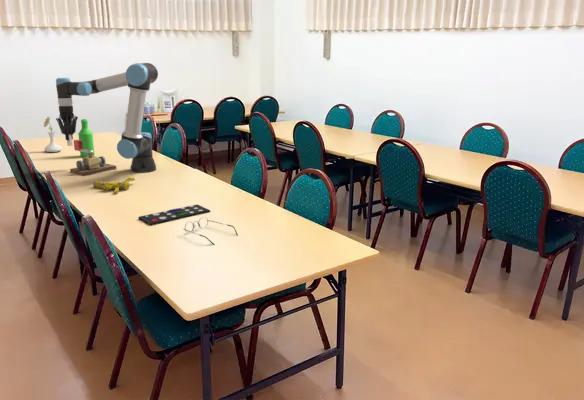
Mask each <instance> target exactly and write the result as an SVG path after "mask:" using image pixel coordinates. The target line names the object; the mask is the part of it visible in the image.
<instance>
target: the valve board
mask: <svg viewBox="0 0 584 400" xmlns="http://www.w3.org/2000/svg"><path fill="white" fill-rule="evenodd" d="M75 165H76V167H73V168H70V169H69V171H70V172H69V173H72V174H76V175H80V176H85V177H86V176H90V175H95V174H101V173H105V172H109V171H114V170H117V165H115V164H109V163H106V158H105V156H103V155H102V156H95V155H94V156H92V154H89V157H82V160H77V161H76V163H75Z"/></svg>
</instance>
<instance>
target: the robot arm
mask: <svg viewBox="0 0 584 400" xmlns="http://www.w3.org/2000/svg"><path fill="white" fill-rule="evenodd" d="M158 77H159V71H158V69H157V67H156V66H155V65H154V64H152V63H150V62H141V63H140V62H136V63H132V64H131V65H129V66H128V67H127V69H126V71H125V72H121V73H117V74H113V75H109V76H105V77H101V78H97V79H93V80H86V81H71V80H70V78H69V77H57V78H56V79H55V84H56V85H55V87H56V94H57V103H58V112H59V116H58V117H56V118H55V120H56V121H57V124H58V127H59V129H60V133H61V134H62V135H64V136H65V140H66V144H67V146H69V147H72V146H73V147H74V144H73V141H74V136H73V135H74V134H75V133H76V130H77V120H78V119H79V117H78V116H76V115H75V114H74V106H73V97H72V96H80V97H81V96H82V97H88V96H90V95H93V94H99V93H101V92H105V91H110V90H115V89H119V88H124V87H128V89H129V97H128V106H127V113H126V121H125V130H124V131H122V132H121V138H120V140H119V141H118V143H117V145H116V150H117V153H118V154H119V155H120V156H121V157H122V158H124V159H129V160H130V159H131V164H130V171H131V172H133V173H150V172H153V171H156V170H157V165H156V162H155V160H154V156H153V138H152V134H151V132H143V131H142V125H143V119H144V118H143V117H144V113H145V112H144V111H145V104H146V103H145V102H146V97H147V96H146V95H147V93H148V92H149V91H150V88H151V84H153V83H155V82H156V81H157V80H158Z"/></svg>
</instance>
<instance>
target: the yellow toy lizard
mask: <svg viewBox="0 0 584 400" xmlns="http://www.w3.org/2000/svg"><path fill="white" fill-rule="evenodd" d="M132 181H136V178H135V177H128V178H126V179H124V180H122V181H116V182H111V181H102V177H100V180H96V181H94V182H92V186H93V188H97V189H98V188H99V190H101V189H102V190H106V191H108V190H110V189H111V190H114V194H118V193H119V190H121V189H124V190H125V191H127V190H129V189H130V183H131V182H132ZM107 189H108V190H107ZM111 190H110V191H111Z"/></svg>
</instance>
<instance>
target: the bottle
mask: <svg viewBox="0 0 584 400" xmlns="http://www.w3.org/2000/svg"><path fill="white" fill-rule="evenodd" d="M88 122H89V120H88V119H85V118H82V119H81V120H80V124H81V129H80V130H79V132H78V140H82V143H83V149H86V150H93V154H92V156H95V148H94V147H95V146H94V137H93V136H94V133H93V132H92V131H91V129H90V128H89V126H88ZM79 153H80V157H82V158H84V157H89V154H87V153H86V152H81V151H79Z"/></svg>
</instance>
